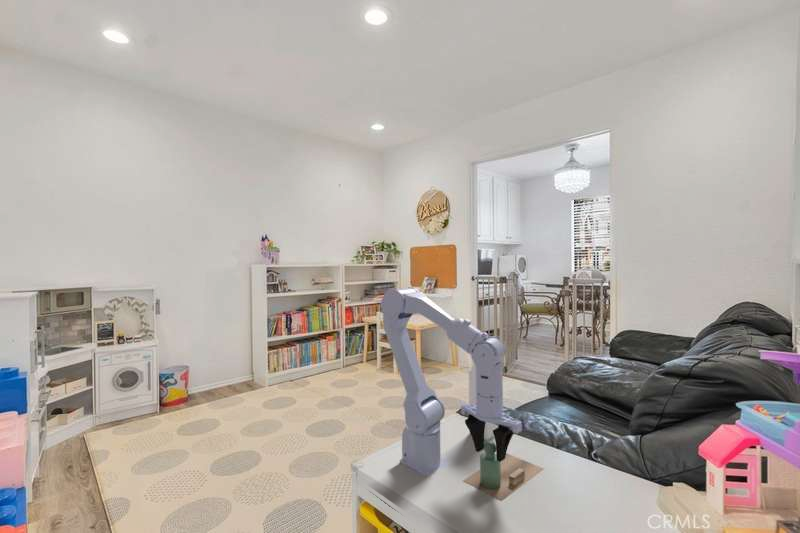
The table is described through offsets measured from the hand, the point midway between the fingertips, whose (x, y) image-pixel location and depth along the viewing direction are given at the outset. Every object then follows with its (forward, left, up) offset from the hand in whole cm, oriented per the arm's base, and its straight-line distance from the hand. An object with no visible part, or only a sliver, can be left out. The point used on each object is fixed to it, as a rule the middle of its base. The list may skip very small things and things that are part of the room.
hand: (490, 454), depth 83 cm
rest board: (0, +6, -7) cm, 9 cm away
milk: (-16, +20, -7) cm, 27 cm away
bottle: (0, 0, -6) cm, 6 cm away
